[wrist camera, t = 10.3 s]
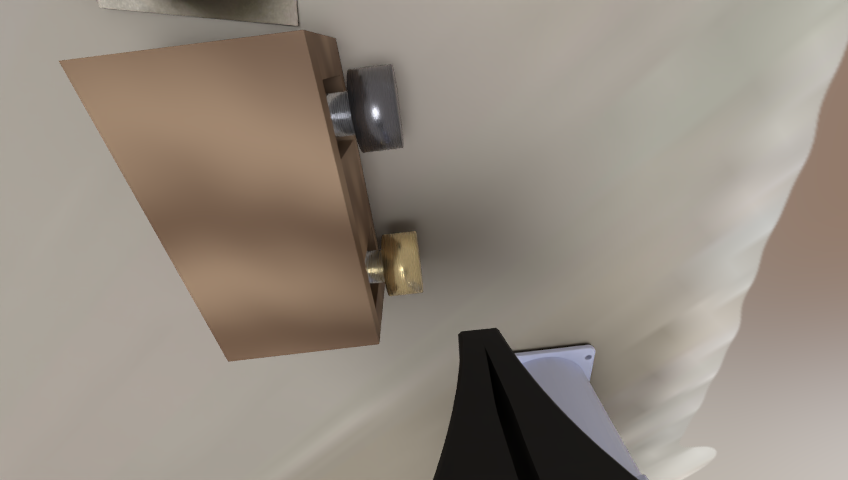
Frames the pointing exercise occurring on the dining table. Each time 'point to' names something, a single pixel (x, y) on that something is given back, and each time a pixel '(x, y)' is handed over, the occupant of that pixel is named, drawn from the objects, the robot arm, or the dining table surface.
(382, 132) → the black knob
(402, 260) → the brass knob
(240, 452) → the dining table surface
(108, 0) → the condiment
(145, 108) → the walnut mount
